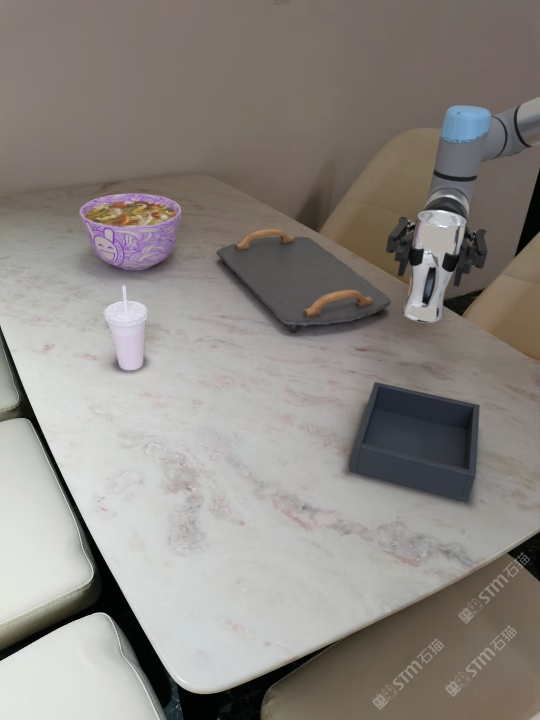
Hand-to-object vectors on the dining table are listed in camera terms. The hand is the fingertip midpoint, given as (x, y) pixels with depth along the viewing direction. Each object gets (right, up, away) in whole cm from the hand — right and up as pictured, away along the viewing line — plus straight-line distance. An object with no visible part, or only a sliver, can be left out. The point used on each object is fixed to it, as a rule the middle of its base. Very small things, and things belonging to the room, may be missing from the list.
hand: (429, 272), depth 81 cm
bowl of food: (-50, +8, +45) cm, 68 cm away
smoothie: (-44, -13, +13) cm, 47 cm away
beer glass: (+1, -5, +9) cm, 10 cm away
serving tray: (-16, +3, +39) cm, 42 cm away
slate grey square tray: (-2, -24, -1) cm, 24 cm away
